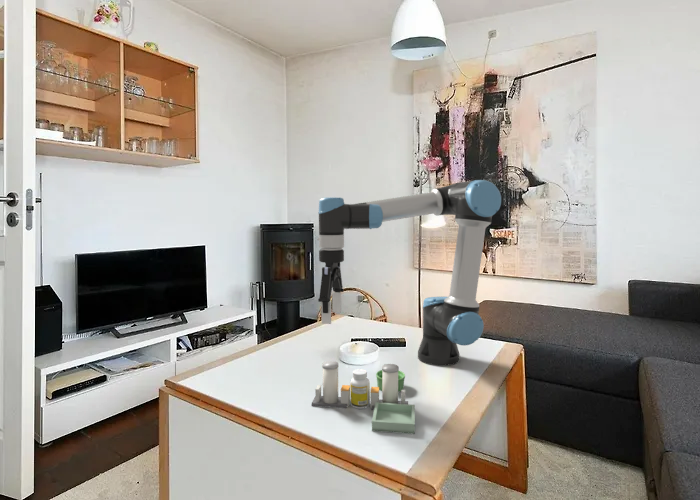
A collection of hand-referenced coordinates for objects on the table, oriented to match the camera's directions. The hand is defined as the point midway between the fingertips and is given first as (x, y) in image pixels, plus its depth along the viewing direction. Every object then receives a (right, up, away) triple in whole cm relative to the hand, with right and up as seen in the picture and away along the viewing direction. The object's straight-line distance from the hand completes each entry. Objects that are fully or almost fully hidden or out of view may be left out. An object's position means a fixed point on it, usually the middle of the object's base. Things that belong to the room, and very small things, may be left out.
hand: (331, 317), depth 131 cm
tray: (+17, -24, -20) cm, 36 cm away
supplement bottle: (+8, -23, -10) cm, 27 cm away
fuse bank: (+8, -23, -10) cm, 27 cm away
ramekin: (+18, -22, +2) cm, 29 cm away
